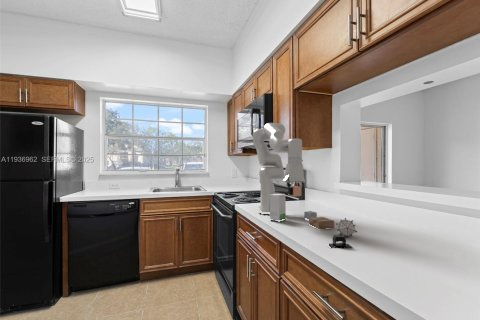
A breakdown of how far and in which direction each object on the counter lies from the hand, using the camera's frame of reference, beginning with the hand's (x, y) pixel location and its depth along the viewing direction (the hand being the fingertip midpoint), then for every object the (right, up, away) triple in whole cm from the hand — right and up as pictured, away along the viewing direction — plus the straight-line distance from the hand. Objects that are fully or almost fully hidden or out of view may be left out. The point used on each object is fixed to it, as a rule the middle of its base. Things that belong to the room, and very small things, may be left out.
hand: (294, 194), depth 125 cm
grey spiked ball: (+19, -17, -20) cm, 32 cm away
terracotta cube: (0, -1, 0) cm, 1 cm away
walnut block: (+13, -17, -4) cm, 22 cm away
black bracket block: (+10, -17, -33) cm, 38 cm away
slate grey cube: (+12, -17, +11) cm, 24 cm away
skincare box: (-8, -17, +10) cm, 21 cm away
